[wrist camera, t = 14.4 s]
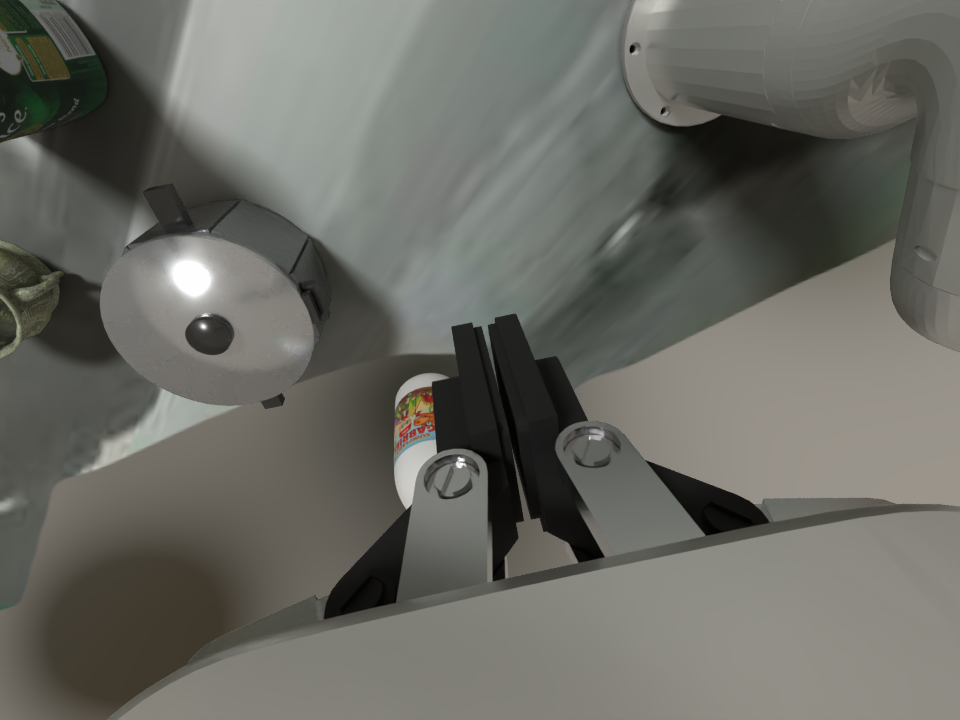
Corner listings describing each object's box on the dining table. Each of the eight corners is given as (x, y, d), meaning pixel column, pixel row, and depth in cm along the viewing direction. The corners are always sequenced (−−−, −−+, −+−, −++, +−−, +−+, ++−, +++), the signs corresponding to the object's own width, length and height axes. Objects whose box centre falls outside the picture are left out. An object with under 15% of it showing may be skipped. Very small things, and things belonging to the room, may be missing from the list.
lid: (278, 212, 32) (271, 221, 30) (346, 377, 40) (343, 391, 38) (60, 255, 31) (41, 267, 30) (173, 413, 40) (163, 429, 38)
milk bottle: (476, 386, 53) (507, 539, 37) (441, 431, 56) (456, 591, 40) (416, 360, 50) (421, 514, 34) (383, 409, 53) (373, 572, 37)
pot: (293, 147, 37) (268, 171, 30) (366, 348, 48) (359, 399, 42) (105, 184, 37) (36, 217, 30) (222, 377, 48) (191, 434, 41)
